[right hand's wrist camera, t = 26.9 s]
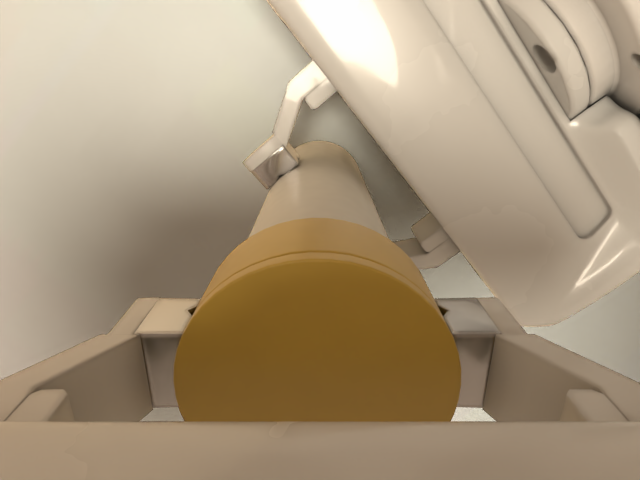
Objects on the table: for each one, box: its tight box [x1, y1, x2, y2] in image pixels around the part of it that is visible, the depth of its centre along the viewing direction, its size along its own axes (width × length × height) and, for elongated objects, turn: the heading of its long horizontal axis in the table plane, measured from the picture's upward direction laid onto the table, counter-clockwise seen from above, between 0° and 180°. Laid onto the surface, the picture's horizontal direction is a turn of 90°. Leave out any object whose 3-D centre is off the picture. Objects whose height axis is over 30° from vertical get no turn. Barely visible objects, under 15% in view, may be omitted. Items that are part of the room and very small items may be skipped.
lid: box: [173, 218, 461, 422], centre depth 9 cm, size 5×5×2 cm
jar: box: [248, 141, 389, 239], centre depth 16 cm, size 5×5×16 cm
